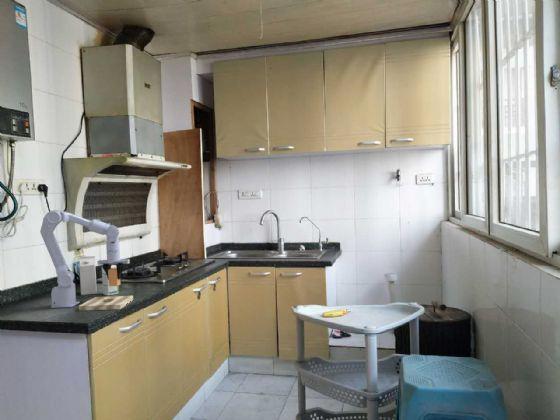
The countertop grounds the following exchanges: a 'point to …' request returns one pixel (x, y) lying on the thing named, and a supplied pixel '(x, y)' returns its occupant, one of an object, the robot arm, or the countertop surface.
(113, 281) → the orange rectangular block
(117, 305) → the holder plate
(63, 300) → the robot arm
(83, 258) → the milk carton
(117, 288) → the syrup box
